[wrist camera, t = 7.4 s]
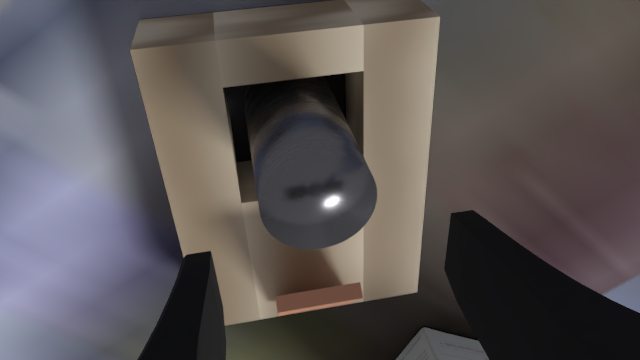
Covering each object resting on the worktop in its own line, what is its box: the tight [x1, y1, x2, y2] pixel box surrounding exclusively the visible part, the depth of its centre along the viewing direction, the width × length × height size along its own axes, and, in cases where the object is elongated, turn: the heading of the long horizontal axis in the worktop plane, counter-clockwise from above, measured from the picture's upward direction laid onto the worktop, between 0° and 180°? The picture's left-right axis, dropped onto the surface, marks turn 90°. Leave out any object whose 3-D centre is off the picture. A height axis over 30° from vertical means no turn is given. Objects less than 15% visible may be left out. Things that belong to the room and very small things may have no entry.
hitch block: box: [130, 0, 440, 326], centre depth 22 cm, size 10×13×3 cm
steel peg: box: [244, 76, 377, 249], centre depth 19 cm, size 4×4×7 cm
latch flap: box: [276, 282, 363, 316], centre depth 22 cm, size 3×4×1 cm
